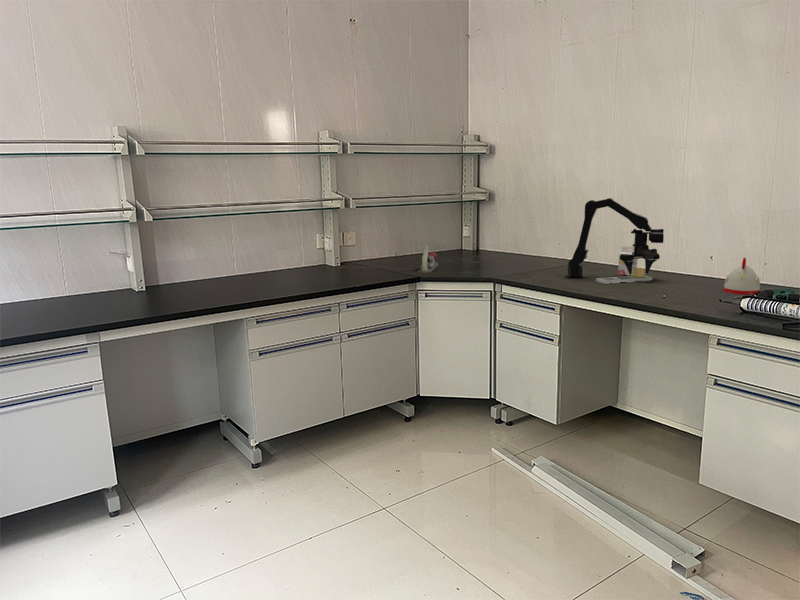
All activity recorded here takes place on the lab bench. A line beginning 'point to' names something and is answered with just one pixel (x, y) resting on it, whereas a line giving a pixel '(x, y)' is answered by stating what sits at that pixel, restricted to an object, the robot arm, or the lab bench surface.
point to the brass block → (638, 272)
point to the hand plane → (428, 261)
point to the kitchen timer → (742, 280)
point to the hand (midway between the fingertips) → (638, 273)
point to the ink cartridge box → (622, 267)
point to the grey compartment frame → (619, 279)
